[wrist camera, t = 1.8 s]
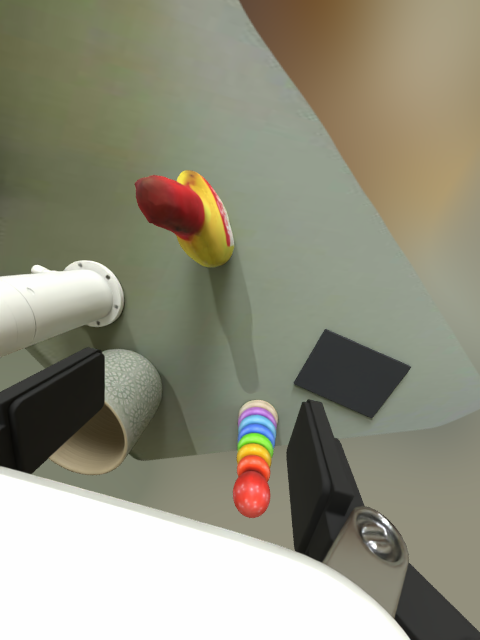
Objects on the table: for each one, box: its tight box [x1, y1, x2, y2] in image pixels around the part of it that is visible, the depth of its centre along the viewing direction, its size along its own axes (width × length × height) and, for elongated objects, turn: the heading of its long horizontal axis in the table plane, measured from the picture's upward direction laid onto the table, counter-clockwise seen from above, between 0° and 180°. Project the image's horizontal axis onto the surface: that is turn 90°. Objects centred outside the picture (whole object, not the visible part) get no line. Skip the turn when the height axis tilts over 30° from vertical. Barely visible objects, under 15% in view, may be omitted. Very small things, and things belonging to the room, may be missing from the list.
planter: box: [49, 349, 162, 475], centre depth 40 cm, size 17×17×15 cm
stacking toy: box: [233, 400, 278, 518], centre depth 37 cm, size 8×8×19 cm
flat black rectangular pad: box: [294, 329, 411, 418], centre depth 41 cm, size 16×12×1 cm
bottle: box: [135, 170, 234, 267], centre depth 27 cm, size 12×6×20 cm, turn 9°
